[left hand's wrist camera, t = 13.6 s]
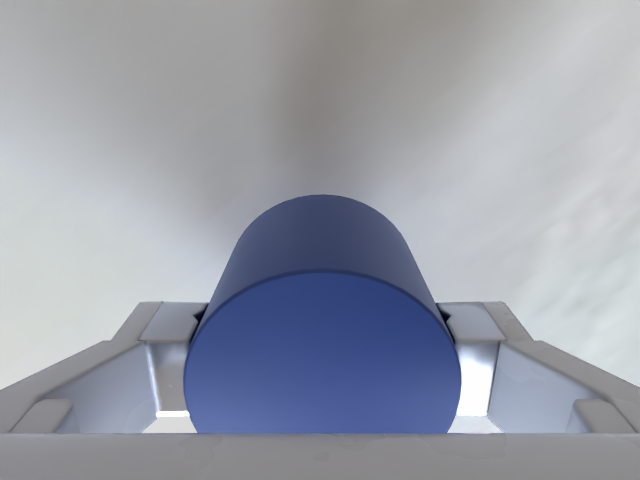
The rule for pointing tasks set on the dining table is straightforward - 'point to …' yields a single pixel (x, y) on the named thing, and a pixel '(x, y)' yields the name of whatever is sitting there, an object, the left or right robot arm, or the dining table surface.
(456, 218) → the dining table surface
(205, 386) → the canister
